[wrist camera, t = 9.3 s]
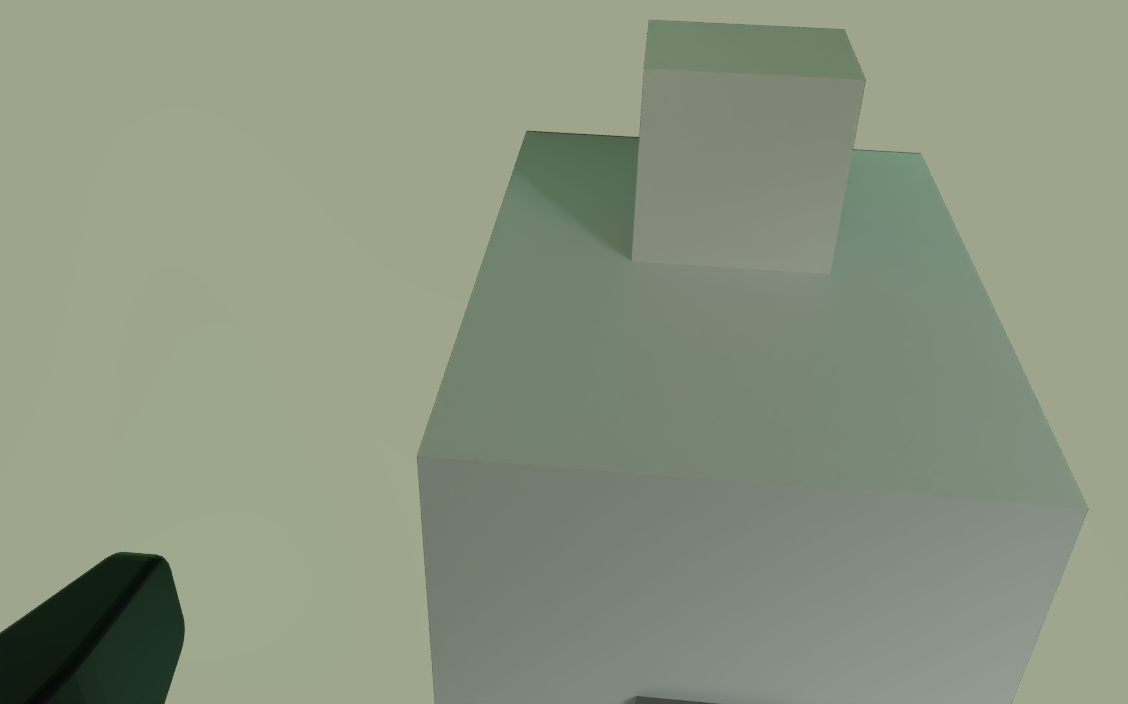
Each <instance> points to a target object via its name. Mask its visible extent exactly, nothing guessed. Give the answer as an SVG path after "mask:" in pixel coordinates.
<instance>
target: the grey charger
mask: <svg viewBox="0 0 1128 704" xmlns="http://www.w3.org/2000/svg"><path fill="white" fill-rule="evenodd" d="M865 82H866V79H865V77H864V75H863V73H862V70H861V68H860V65H859V63H858V61H857V58H856V56H855V53H854V51H853V49H852V46H851V44H850V42H849V39H848V37H847V35H846V32H845V30H844V29H825V28H805V27H783V26H763V25H744V24H723V23H703V22H702V23H701V22H682V21H662V20H649V24H648V33H647V44H646V53H645V63H644V74H643V90H642V106H641V122H640V136H639V137H629V136H611V135H594V134H576V133H559V132H541V131H526V134H525V137H524V140H523V143H522V146H521V149H520V152H519V155H518V159H517V161H516V164H515V167H514V170H513V173H512V176H511V179H510V182H509V185H508V188H507V190H506V193H505V196H504V199H503V202H502V205H501V208H500V212H499V214H498V217H497V220H496V224H495V226H494V229H493V232H492V235H491V238H490V241H489V244H488V247H487V250H486V253H485V256H484V259H483V262H482V265H481V268H480V271H479V274H478V276H477V279H476V283H475V286H474V289H473V291H472V294H471V297H470V300H469V303H468V306H467V309H466V312H465V315H464V318H463V321H462V324H461V327H460V330H459V333H458V336H457V339H456V342H455V345H454V348H453V351H452V353H451V357H450V360H449V362H448V366H447V368H446V371H445V374H444V377H443V380H442V383H441V386H440V389H439V392H438V395H437V398H436V401H435V404H434V407H433V410H432V413H431V416H430V419H429V422H428V425H427V428H426V431H425V434H424V436H423V440H422V442H421V445H420V448H419V451H418V454H417V463H418V477H419V491H420V503H421V504H420V505H421V519H422V532H423V547H424V561H425V575H426V588H427V601H428V616H429V630H430V643H431V658H432V671H433V686H434V699H435V704H1012V702H1013V699H1014V696H1015V694H1016V691H1017V689H1018V686H1019V684H1020V681H1021V679H1022V676H1023V674H1024V671H1025V669H1026V666H1027V664H1028V661H1029V659H1030V656H1031V653H1032V651H1033V649H1034V646H1035V644H1036V641H1037V638H1038V636H1039V633H1040V631H1041V628H1042V626H1043V623H1044V621H1045V618H1046V616H1047V613H1048V611H1049V608H1050V605H1051V603H1052V600H1053V598H1054V595H1055V592H1056V590H1057V588H1058V585H1059V583H1060V580H1061V578H1062V575H1063V572H1064V570H1065V568H1066V565H1067V562H1068V560H1069V557H1070V555H1071V552H1072V550H1073V547H1074V545H1075V542H1076V540H1077V537H1078V534H1079V532H1080V529H1081V527H1082V525H1083V522H1084V519H1085V517H1086V514H1087V512H1088V506H1087V504H1086V502H1085V500H1084V498H1083V496H1082V494H1081V492H1080V489H1079V488H1078V485H1077V483H1076V481H1075V479H1074V477H1073V475H1072V472H1071V470H1070V468H1069V466H1068V464H1067V462H1066V460H1065V458H1064V456H1063V453H1062V451H1061V449H1060V447H1059V445H1058V443H1057V441H1056V439H1055V437H1054V434H1053V432H1052V430H1051V428H1050V426H1049V424H1048V422H1047V420H1046V418H1045V415H1044V413H1043V411H1042V409H1041V407H1040V405H1039V403H1038V400H1037V398H1036V396H1035V394H1034V392H1033V390H1032V388H1031V386H1030V384H1029V381H1028V379H1027V377H1026V375H1025V373H1024V371H1023V369H1022V367H1021V365H1020V362H1019V360H1018V358H1017V356H1016V354H1015V352H1014V350H1013V347H1012V345H1011V343H1010V341H1009V339H1008V337H1007V335H1006V333H1005V331H1004V328H1003V326H1002V324H1001V322H1000V320H999V318H998V316H997V314H996V312H995V309H994V307H993V305H992V303H991V301H990V299H989V297H988V295H987V292H986V290H985V288H984V286H983V284H982V282H981V280H980V278H979V276H978V274H977V271H976V269H975V267H974V265H973V263H972V261H971V259H970V257H969V254H968V252H967V250H966V248H965V246H964V244H963V242H962V240H961V238H960V235H959V233H958V231H957V229H956V227H955V225H954V223H953V220H952V219H951V216H950V214H949V212H948V210H947V208H946V206H945V203H944V201H943V199H942V197H941V195H940V193H939V191H938V189H937V187H936V184H935V183H934V180H933V178H932V176H931V174H930V172H929V170H928V168H927V165H926V163H925V161H924V159H923V157H922V155H921V153H911V152H892V151H875V150H857V149H853V147H854V141H855V136H856V130H857V125H858V119H859V114H860V109H861V104H862V98H863V93H864V87H865Z"/></svg>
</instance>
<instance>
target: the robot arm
mask: <svg viewBox="0 0 1128 704" xmlns="http://www.w3.org/2000/svg"><path fill="white" fill-rule="evenodd" d="M184 633H185V626H184V618H183V614H182V610H181V606H180V603H179V599H178V595H177V591H176V587H175V584H174V580H173V576H172V572H171V569H170V566H169V563H168V562H167V561H166V560H165V558H163V557H162V556H159V555H154V554H141V553H130V552H119V553H115V554H113V555H111V556H109V557H107V558H106V559H104V560H103V561H101V562H100V563H99V564H97V565H96V566H94V567H93V568H91V569H90V570H89V571H87V572H86V573H85V574H83V575H82V576H80V577H79V578H77V579H76V580H75V581H73V582H72V583H70V584H69V585H67V586H66V587H65V588H63V589H62V590H60V591H59V592H58V593H56V594H55V595H53V596H52V597H51V598H49V599H48V600H46V601H45V602H44V603H42V604H41V605H39V606H38V607H36V608H35V609H34V610H32V611H31V612H30V613H28V614H26V615H25V616H24V617H22V618H21V619H20V620H18V621H16V622H15V623H14V624H12V625H11V626H9V627H8V628H7V629H5V630H4V631H2V632H1V633H0V704H164V703H165V700H166V697H167V694H168V691H169V688H170V685H171V681H172V678H173V675H174V672H175V669H176V666H177V663H178V660H179V656H180V653H181V650H182V646H183V641H184Z"/></svg>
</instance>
